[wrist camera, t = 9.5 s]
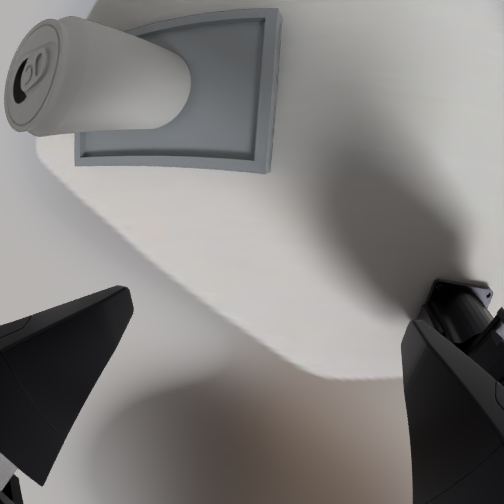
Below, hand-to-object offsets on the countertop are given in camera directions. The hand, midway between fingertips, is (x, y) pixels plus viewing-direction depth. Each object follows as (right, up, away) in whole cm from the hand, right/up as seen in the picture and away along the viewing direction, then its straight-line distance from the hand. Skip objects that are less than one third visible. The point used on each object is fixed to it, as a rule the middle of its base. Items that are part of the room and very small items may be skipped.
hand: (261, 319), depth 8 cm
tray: (-7, +15, +11) cm, 20 cm away
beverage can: (-7, +14, +10) cm, 19 cm away
